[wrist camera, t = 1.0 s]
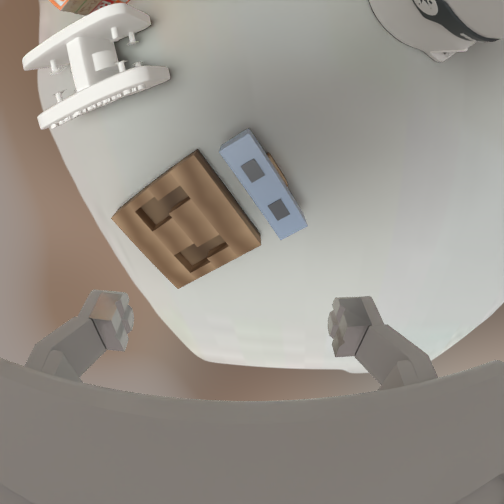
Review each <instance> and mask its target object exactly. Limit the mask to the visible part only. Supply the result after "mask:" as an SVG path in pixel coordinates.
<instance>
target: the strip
mask: <svg viewBox="0 0 504 504" xmlns="http://www.w3.org/2000/svg"><path fill="white" fill-rule="evenodd" d="M219 153H220V154H221V156H222V157H223V158H224V160H225V161H226V163H227V164H228V165H229V167H230V168H231V170H232V171H233V172H234V174H235V175H236V177H237V178H238V179H239V181H240V182H241V184H242V185H243V186H244V188H245V189H246V191H247V192H248V194H249V195H250V196H251V198H252V199H253V201H254V202H255V204H256V205H257V206H258V208H259V209H260V211H261V212H262V214H263V215H264V217H265V218H266V219H267V221H268V222H269V224H270V225H271V227H272V228H273V230H274V231H275V233H276V234H277V235H278V237H279V238H280V240H282V239H284V238H286V237H288V236H290V235H292V234H294V233H295V232H297V231H299V230H301V229H303V228H305V227H307V223H306V220H305V217H304V214H303V212H302V211H301V209H300V207H299V206H298V204H297V202H296V201H295V199H294V197H293V196H292V194H291V193H290V191H289V189H288V188H287V186H286V184H285V183H284V181H283V180H282V178H281V176H280V175H279V173H278V172H277V170H276V169H275V167H274V165H273V164H272V162H271V161H270V159H269V158H268V156H267V155H266V153H265V151H264V150H263V148H262V147H261V145H260V144H259V142H258V141H257V139H256V138H255V136H254V135H253V133H252V132H251V130H250V129H249V128H248V129H246V130H245V131H243V132H241V133H240V134H238V135H237V136H235V137H233V138H232V139H230V140H229V141H227V142H225V143H224V144H222V145H221V148H220V150H219Z"/></svg>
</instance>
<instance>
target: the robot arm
mask: <svg viewBox="0 0 504 504" xmlns="http://www.w3.org/2000/svg"><path fill="white" fill-rule="evenodd" d="M369 2H370V5H371V7H372V10H373V12H374V13H375V15H376V17H377V18H378V20H379V21H380V23H381V24H382V25H383V26H384V27H385V28H386V30H387V31H388V32H390V33H391V34H392V35H393V36H394V37H395V38H397V39H398V40H400V41H401V42H403V43H405V44H407V45H409V46H411V47H414V48H417V49H420V50H422V51H424V52H425V53H426V54H427V55H428V56H429V57H431V58H432V59H433V60H435V61H436V62H443V61H445V60H447V59H448V58H449V57H451V56H452V55H454V54H455V53H456V52H464V51H467V50H468V48H469V47H471V46H472V45H473V44H474V43H475V42H493V41H496V40H499V39H504V0H369ZM443 52H444V53H443ZM128 302H129V298H128V295H127V294H126V293H124V292H114V291H101V290H93V291H91V293H90V294H89V296H88V298H87V300H86V302H85V304H84V305H83V307H82V309H81V311H80V313H79V315H78V317H73V318H72V319H70V320H69V321H68V322H66V323H65V324H63V325H62V326H60V327H59V328H58V329H56V330H55V331H53V332H52V333H50V334H49V335H48V336H46V337H45V338H43V339H42V340H41V341H39V342H38V343H37V344H35V346H34V348H33V350H32V352H31V354H30V356H29V358H28V360H27V362H26V364H25V366H22V365H19V364H16V363H13V362H10V361H8V360H5V359H2V358H0V504H504V362H502V361H499V360H495V361H491V362H489V363H486V364H483V365H480V366H477V367H474V368H471V369H468V370H464V371H461V372H458V373H454V374H451V375H447V376H444V377H440V378H438V376H437V374H436V372H435V369H434V367H433V365H432V363H431V360H430V358H429V356H428V355H427V354H426V353H425V352H423V351H422V350H421V349H419V348H418V347H417V346H415V345H414V344H413V343H411V342H410V341H409V340H407V339H406V338H405V337H404V336H402V335H401V334H400V333H398V332H397V331H396V330H394V329H393V328H392V327H390V326H389V325H384V323H383V320H382V318H381V316H380V314H379V312H378V309H377V307H376V305H375V303H374V301H373V299H372V297H370V296H364V297H340V298H335V299H334V301H333V304H332V306H333V309H334V310H333V311H332V312H330V314H329V318H328V331H329V335H330V336H331V337H332V338H333V342H332V347H333V350H334V354H335V357H345V356H355V358H356V359H357V360H358V361H359V362H360V363H361V364H362V365H363V366H364V367H365V368H366V370H367V371H368V372H369V373H370V374H371V375H372V376H373V377H374V378H375V379H376V380H377V381H378V382H379V383H380V384H381V386H380V388H379V389H378V390H377V391H374V392H368V393H360V394H353V395H345V396H338V397H328V398H316V399H303V400H285V401H214V400H198V399H184V398H174V397H163V396H155V395H148V394H141V393H134V392H128V391H122V390H116V389H110V388H105V387H100V386H95V385H91V384H86V383H83V382H82V380H81V379H80V378H79V377H80V376H81V375H82V374H83V373H84V372H85V371H86V370H87V369H88V368H89V367H90V366H91V365H92V364H93V363H94V362H95V361H96V360H97V359H98V358H99V357H100V356H101V355H102V354H103V353H104V352H105V351H106V349H107V350H116V351H125V348H126V345H127V342H128V336H127V334H128V333H129V332H130V331H131V330H132V327H133V322H134V315H133V310H132V308H131V307H130V306H129V305H128Z"/></svg>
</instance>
